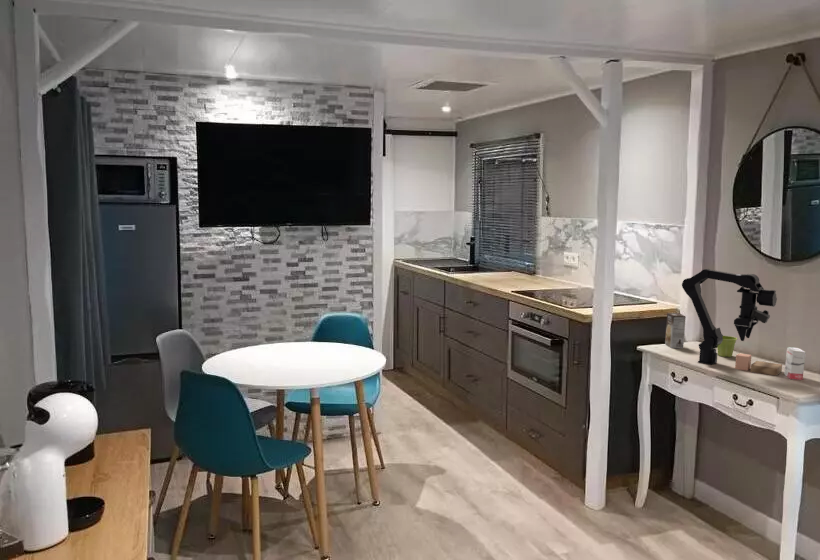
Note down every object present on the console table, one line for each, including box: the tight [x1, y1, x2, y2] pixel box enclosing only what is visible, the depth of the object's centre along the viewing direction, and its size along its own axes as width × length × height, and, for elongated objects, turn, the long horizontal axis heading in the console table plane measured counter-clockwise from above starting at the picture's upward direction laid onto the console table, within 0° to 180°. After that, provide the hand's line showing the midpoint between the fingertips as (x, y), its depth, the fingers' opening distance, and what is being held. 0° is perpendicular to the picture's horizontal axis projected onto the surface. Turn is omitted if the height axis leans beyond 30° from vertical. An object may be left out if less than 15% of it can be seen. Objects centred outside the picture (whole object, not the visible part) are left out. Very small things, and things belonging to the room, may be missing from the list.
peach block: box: [734, 352, 752, 371], centre depth 306 cm, size 5×5×6 cm
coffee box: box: [664, 312, 686, 349], centre depth 349 cm, size 9×6×16 cm
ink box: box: [783, 346, 807, 381], centre depth 291 cm, size 9×5×12 cm, turn 168°
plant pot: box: [716, 335, 738, 358], centre depth 331 cm, size 9×9×9 cm
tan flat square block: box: [750, 360, 783, 377], centre depth 301 cm, size 10×10×3 cm
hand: (745, 339), depth 304 cm, fingers open, 9 cm apart
